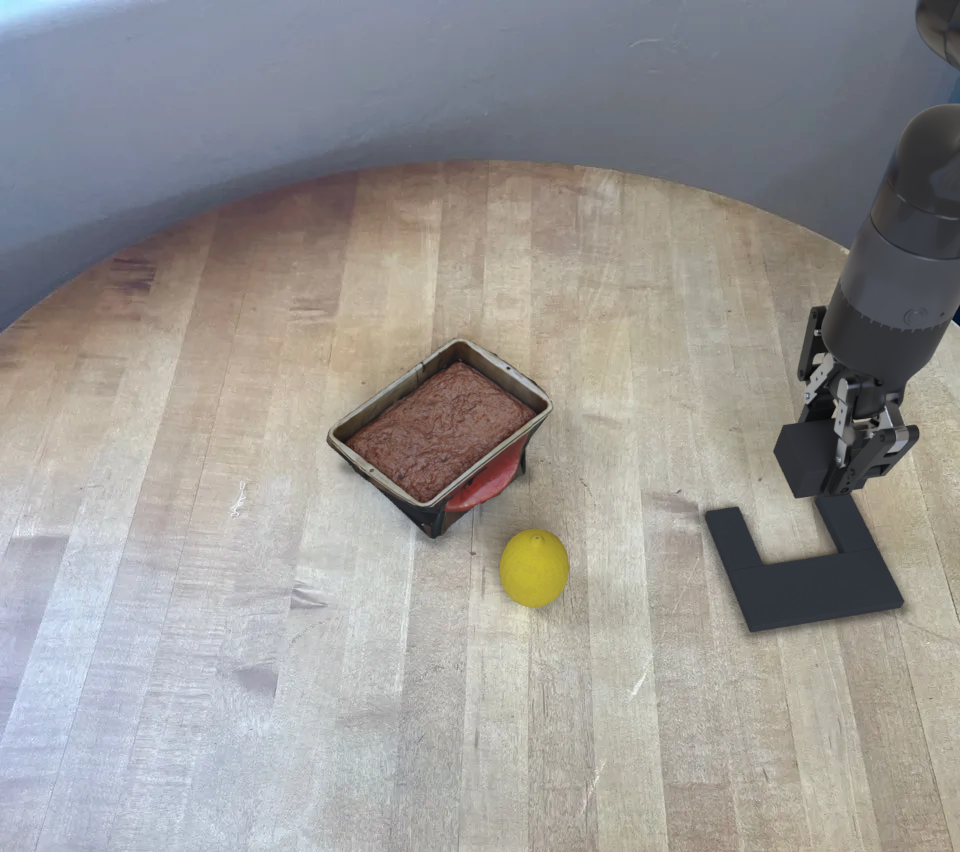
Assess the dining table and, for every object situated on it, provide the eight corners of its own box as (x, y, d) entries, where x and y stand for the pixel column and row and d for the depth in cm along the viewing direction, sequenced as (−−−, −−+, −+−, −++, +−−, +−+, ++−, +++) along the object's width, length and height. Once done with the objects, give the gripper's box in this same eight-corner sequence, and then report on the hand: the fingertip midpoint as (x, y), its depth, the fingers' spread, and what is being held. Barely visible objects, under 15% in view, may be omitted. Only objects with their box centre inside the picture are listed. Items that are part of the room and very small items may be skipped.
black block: (838, 441, 80) (850, 415, 77) (862, 489, 77) (876, 462, 75) (772, 451, 79) (782, 424, 77) (794, 499, 77) (806, 473, 74)
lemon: (574, 584, 83) (584, 524, 76) (549, 634, 80) (556, 577, 74) (514, 561, 84) (518, 500, 78) (487, 610, 82) (489, 552, 75)
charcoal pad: (843, 500, 88) (848, 489, 87) (898, 611, 82) (905, 601, 81) (703, 521, 87) (706, 510, 86) (748, 636, 81) (753, 626, 79)
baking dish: (558, 488, 91) (574, 397, 84) (409, 575, 82) (412, 482, 75) (453, 412, 97) (459, 321, 90) (305, 485, 89) (298, 391, 81)
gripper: (1007, 355, 60) (902, 529, 75) (909, 209, 67) (830, 394, 82) (891, 370, 59) (807, 544, 74) (804, 221, 67) (743, 405, 81)
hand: (820, 464), depth 78 cm, fingers closed on black block, 5 cm apart
